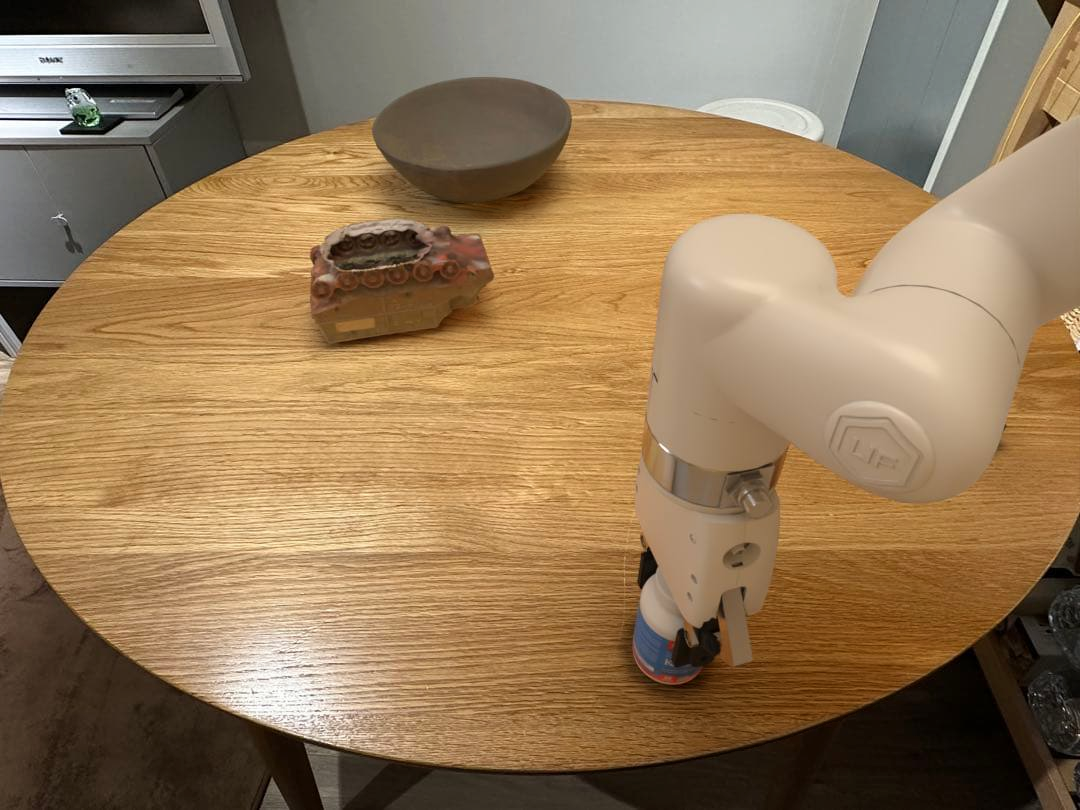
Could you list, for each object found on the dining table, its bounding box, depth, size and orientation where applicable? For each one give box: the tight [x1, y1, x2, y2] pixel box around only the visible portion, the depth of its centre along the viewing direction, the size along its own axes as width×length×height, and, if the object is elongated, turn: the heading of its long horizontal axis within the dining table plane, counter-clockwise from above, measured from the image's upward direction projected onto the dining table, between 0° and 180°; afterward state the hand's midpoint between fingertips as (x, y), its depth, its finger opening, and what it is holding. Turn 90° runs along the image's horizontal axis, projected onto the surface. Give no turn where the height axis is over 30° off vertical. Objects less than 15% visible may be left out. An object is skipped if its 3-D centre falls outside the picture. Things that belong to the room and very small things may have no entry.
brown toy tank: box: [309, 217, 495, 345], centre depth 84 cm, size 13×20×10 cm, turn 96°
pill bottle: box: [632, 566, 716, 685], centre depth 54 cm, size 6×5×10 cm
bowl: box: [371, 76, 573, 205], centre depth 105 cm, size 26×26×10 cm
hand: (676, 617), depth 54 cm, fingers closed on pill bottle, 5 cm apart
